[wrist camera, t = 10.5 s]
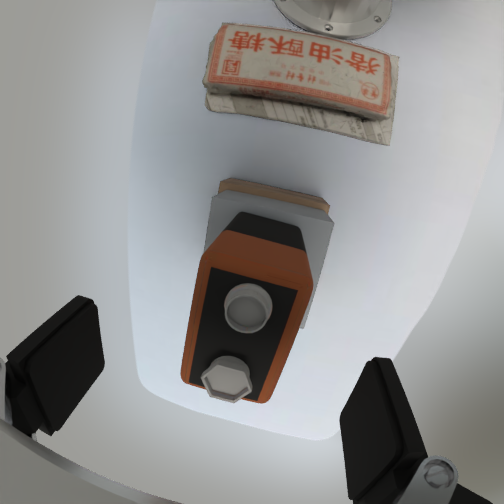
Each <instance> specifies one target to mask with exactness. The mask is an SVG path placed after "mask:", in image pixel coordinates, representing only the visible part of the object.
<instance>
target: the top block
mask: <svg viewBox="0 0 504 504" xmlns="http://www.w3.org/2000/svg"><path fill="white" fill-rule="evenodd" d="M240 212H247V213H251V214H254V215H258V216H262V217H266V218H269V219H273V220H277V221H280V222H284V223H288V224H291V225H295V226H298V227H299V228H300V229H301V232H302V235H303V240H304V244H305V248H306V252H307V256H308V261H309V265H310V269H311V274H312V278H313V284H314V286H313V291H312V295H311V297H310V300H309V303H308V306H307V309H306V311H305V314H304V317H303V319H302V322H301V325H300V327H299V328H302V329H304V326H305V323H306V320H307V317H308V314H309V310H310V307H311V304H312V301H313V297H314V294H315V291H316V287H317V284H318V281H319V277H320V274H321V270H322V267H323V263H324V259H325V256H326V252H327V249H328V245H329V241H330V237H331V234H332V230H333V226H334V222H333V221H332V220H331V218H330V217H329V216H328V215H327V213H326V212H325V211H324V210H320V209H316V208H312V207H307V206H303V205H299V204H294V203H290V202H285V201H280V200H276V199H271V198H266V197H262V196H257V195H252V194H247V193H242V192H237V191H231V190H225V191H223V192H221V193H219V194H217V195H215V196H213V197H212V203H211V209H210V215H209V221H208V227H207V234H206V240H205V247H204V252H205V251H206V250H207V249H208V247H209V246H210V245H211V244H212V243H213V242H214V240H215V239H216V238H217V237H218V236H219V235H220V233H221V232H222V231H223V230H224V229H225V228H226V226H227V225H228V224H229V223H230V222H231V221H232V220H233V218H234V217H235V216H236V215H237V214H238V213H240Z"/></svg>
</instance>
